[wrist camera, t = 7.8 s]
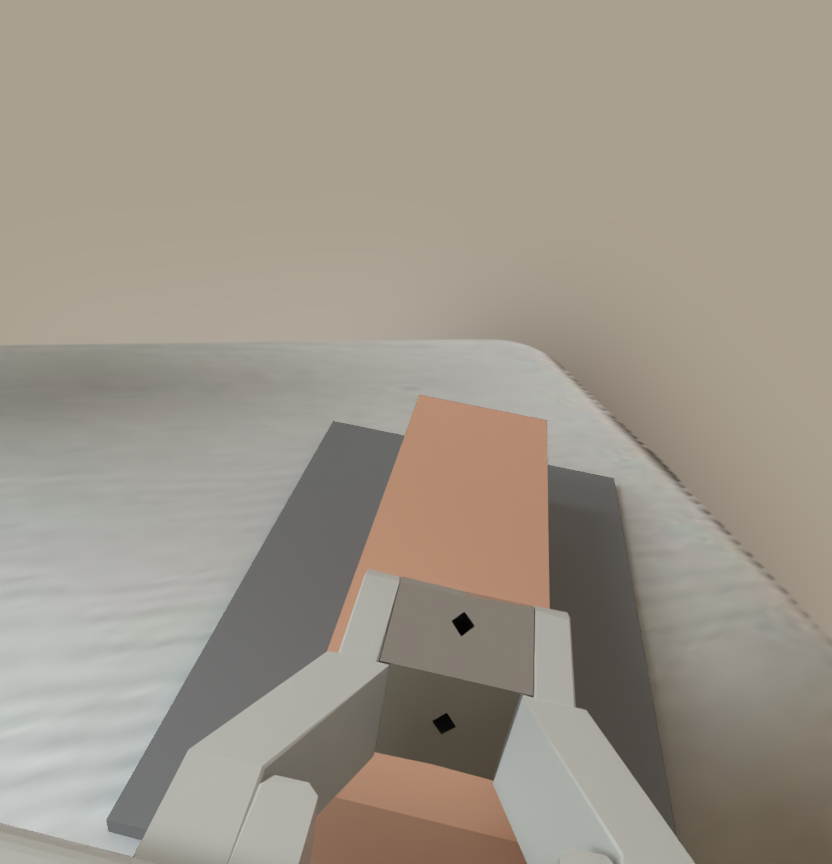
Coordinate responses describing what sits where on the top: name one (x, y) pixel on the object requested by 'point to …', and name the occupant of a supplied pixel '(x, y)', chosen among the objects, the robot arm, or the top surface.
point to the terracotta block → (458, 569)
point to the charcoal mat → (327, 590)
